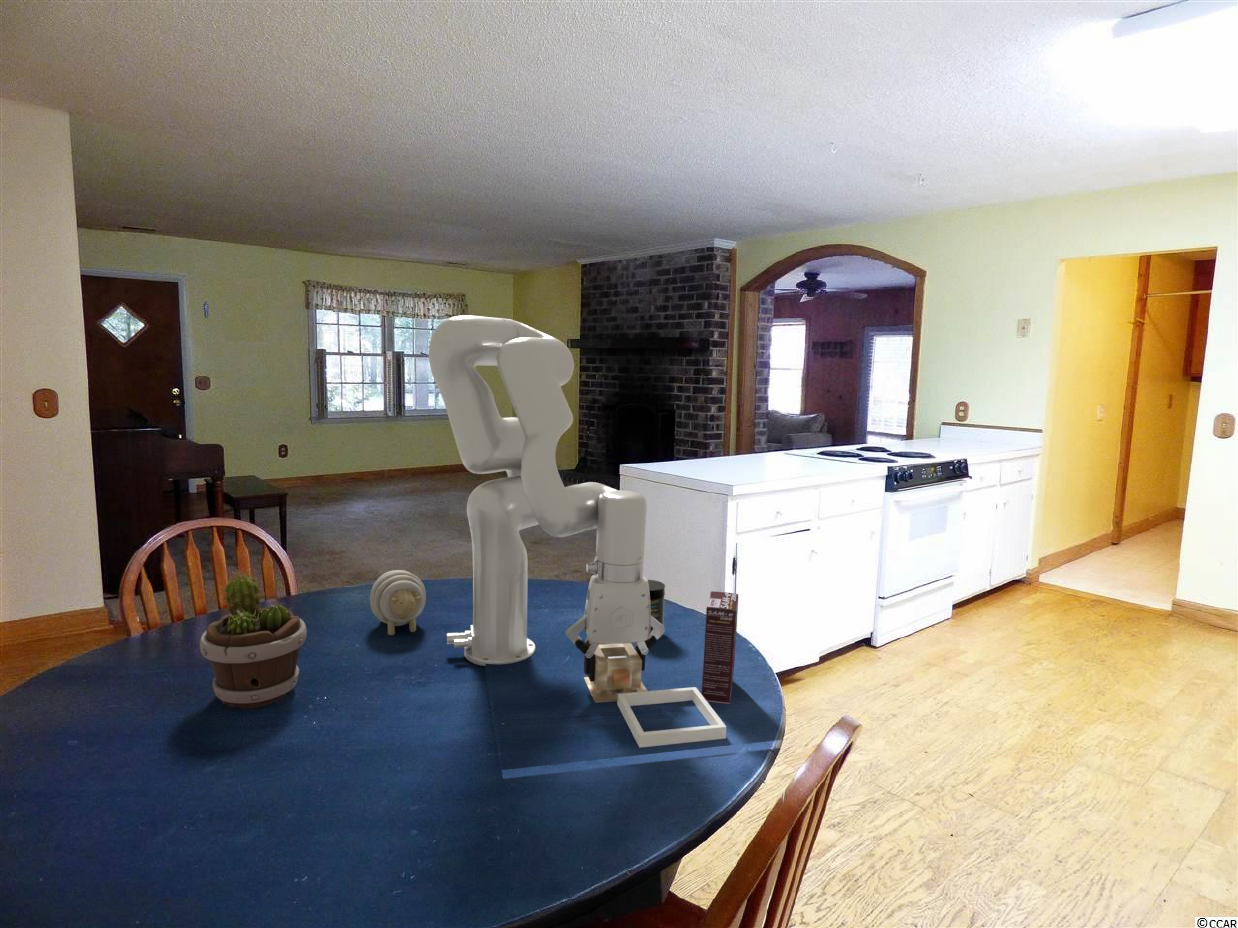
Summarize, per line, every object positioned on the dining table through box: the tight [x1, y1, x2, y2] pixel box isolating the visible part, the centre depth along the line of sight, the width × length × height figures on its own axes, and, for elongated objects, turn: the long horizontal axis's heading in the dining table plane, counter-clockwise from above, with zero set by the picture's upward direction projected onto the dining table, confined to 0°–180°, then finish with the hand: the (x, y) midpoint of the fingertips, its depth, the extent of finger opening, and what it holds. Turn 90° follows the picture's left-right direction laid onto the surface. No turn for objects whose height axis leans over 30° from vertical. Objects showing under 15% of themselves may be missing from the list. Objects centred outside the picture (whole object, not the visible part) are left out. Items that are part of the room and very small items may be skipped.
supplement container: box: [648, 579, 666, 638], centre depth 141 cm, size 7×7×10 cm
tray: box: [616, 686, 727, 749], centre depth 108 cm, size 13×13×2 cm
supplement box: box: [700, 590, 739, 705], centre depth 117 cm, size 9×5×16 cm, turn 168°
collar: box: [593, 643, 643, 691], centre depth 117 cm, size 7×8×4 cm
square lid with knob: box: [583, 656, 648, 704], centre depth 118 cm, size 9×9×6 cm
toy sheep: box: [369, 569, 427, 636], centre depth 143 cm, size 11×17×11 cm, turn 32°
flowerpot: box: [199, 565, 308, 709], centre depth 112 cm, size 14×15×20 cm
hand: (614, 675), depth 118 cm, fingers closed on collar, 7 cm apart
